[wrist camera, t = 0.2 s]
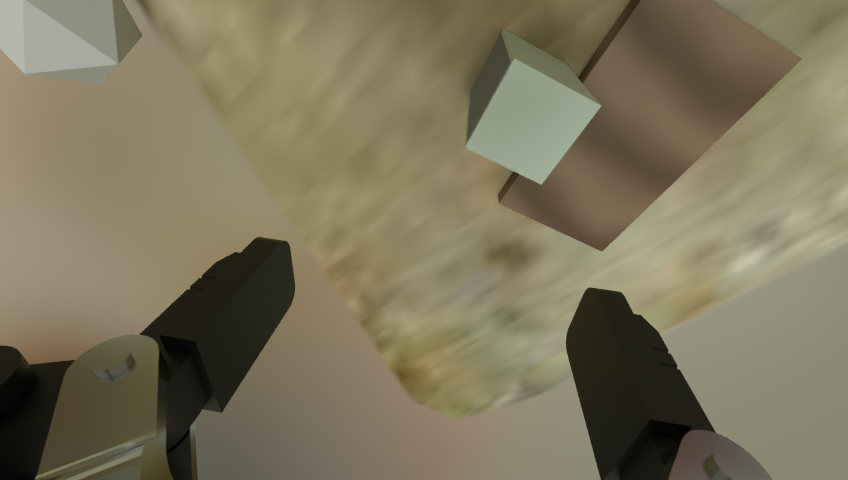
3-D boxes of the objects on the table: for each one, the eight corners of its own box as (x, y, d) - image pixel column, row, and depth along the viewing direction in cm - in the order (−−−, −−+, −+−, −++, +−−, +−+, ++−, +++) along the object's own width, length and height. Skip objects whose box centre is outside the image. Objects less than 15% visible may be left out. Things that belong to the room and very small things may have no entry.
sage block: (502, 28, 25) (513, 57, 17) (564, 62, 26) (601, 105, 18) (468, 95, 28) (464, 147, 20) (524, 124, 29) (541, 184, 21)
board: (652, -31, 22) (662, -31, 21) (786, 54, 24) (802, 58, 23) (498, 194, 33) (498, 203, 32) (597, 241, 34) (602, 251, 33)
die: (149, -50, 25) (-86, -146, 17) (173, 77, 26) (-40, 40, 19) (115, -2, 30) (-81, -60, 22) (136, 104, 31) (-45, 83, 23)
